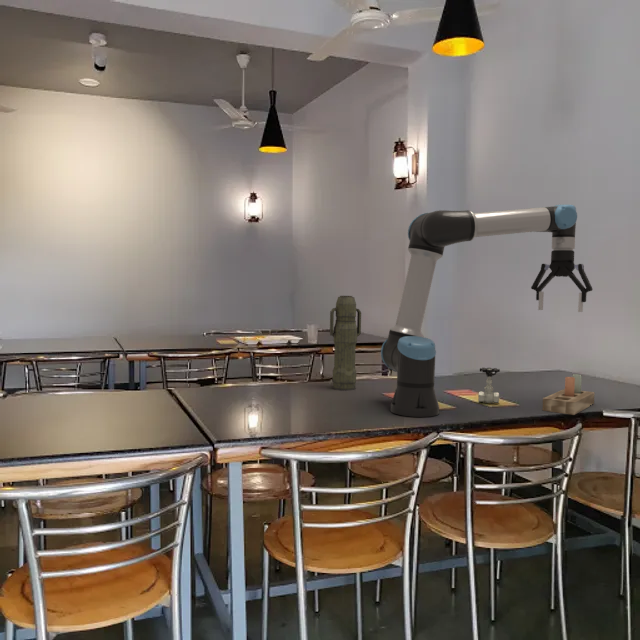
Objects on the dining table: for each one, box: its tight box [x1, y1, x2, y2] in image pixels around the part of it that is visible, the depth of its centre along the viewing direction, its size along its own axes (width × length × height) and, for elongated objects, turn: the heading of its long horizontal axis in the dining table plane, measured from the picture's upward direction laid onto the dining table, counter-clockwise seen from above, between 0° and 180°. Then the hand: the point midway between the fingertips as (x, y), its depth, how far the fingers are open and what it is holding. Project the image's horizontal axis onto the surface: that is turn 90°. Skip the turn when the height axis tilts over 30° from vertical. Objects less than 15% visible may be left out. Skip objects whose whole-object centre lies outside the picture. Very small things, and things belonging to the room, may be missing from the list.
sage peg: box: [571, 373, 583, 394], centre depth 220 cm, size 3×3×10 cm
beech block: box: [541, 388, 596, 416], centre depth 214 cm, size 10×24×4 cm, turn 143°
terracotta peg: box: [564, 376, 575, 397], centre depth 213 cm, size 3×3×10 cm
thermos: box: [329, 295, 362, 391], centre depth 240 cm, size 9×12×35 cm
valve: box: [478, 367, 501, 404], centre depth 217 cm, size 7×7×12 cm
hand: (560, 310), depth 223 cm, fingers open, 13 cm apart
